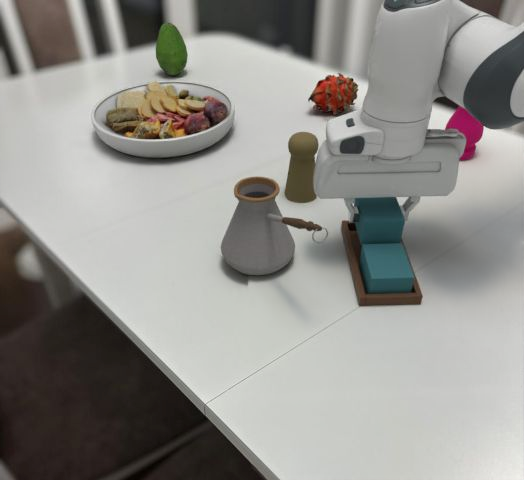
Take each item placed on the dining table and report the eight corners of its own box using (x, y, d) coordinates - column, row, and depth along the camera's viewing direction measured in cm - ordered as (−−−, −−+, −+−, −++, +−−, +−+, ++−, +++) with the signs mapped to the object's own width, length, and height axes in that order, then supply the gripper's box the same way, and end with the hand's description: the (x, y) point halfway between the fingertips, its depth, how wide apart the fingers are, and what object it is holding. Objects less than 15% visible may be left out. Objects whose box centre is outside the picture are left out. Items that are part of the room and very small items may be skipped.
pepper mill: (437, 158, 105) (464, 48, 91) (441, 142, 110) (467, 35, 95) (475, 164, 104) (509, 52, 89) (477, 147, 108) (510, 39, 94)
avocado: (170, 82, 133) (163, 29, 125) (153, 74, 137) (145, 22, 129) (195, 74, 137) (190, 22, 128) (177, 66, 141) (171, 15, 132)
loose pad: (389, 213, 85) (394, 191, 82) (400, 243, 79) (405, 220, 76) (352, 214, 85) (355, 192, 82) (360, 244, 79) (364, 221, 76)
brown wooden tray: (392, 230, 89) (394, 218, 87) (419, 308, 76) (422, 296, 74) (340, 232, 89) (341, 220, 87) (358, 310, 75) (360, 298, 74)
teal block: (397, 264, 81) (402, 243, 78) (409, 299, 76) (414, 277, 73) (358, 265, 81) (362, 244, 78) (367, 300, 76) (371, 278, 73)
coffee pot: (209, 254, 85) (200, 166, 74) (270, 232, 89) (270, 146, 78) (280, 335, 72) (282, 244, 61) (347, 305, 76) (360, 215, 65)
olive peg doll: (278, 190, 98) (279, 132, 90) (306, 182, 100) (310, 124, 92) (294, 206, 94) (297, 146, 86) (323, 197, 96) (328, 138, 88)
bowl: (69, 153, 108) (58, 115, 102) (135, 96, 128) (129, 61, 122) (205, 174, 102) (202, 134, 96) (253, 111, 121) (252, 74, 116)
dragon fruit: (360, 116, 123) (311, 129, 122) (348, 83, 123) (300, 96, 123) (368, 94, 114) (315, 109, 114) (356, 59, 115) (303, 73, 114)
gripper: (463, 118, 73) (439, 206, 83) (315, 121, 72) (309, 209, 83) (477, 139, 69) (450, 229, 79) (320, 142, 68) (313, 233, 78)
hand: (376, 219), depth 81 cm, fingers closed on loose pad, 6 cm apart
